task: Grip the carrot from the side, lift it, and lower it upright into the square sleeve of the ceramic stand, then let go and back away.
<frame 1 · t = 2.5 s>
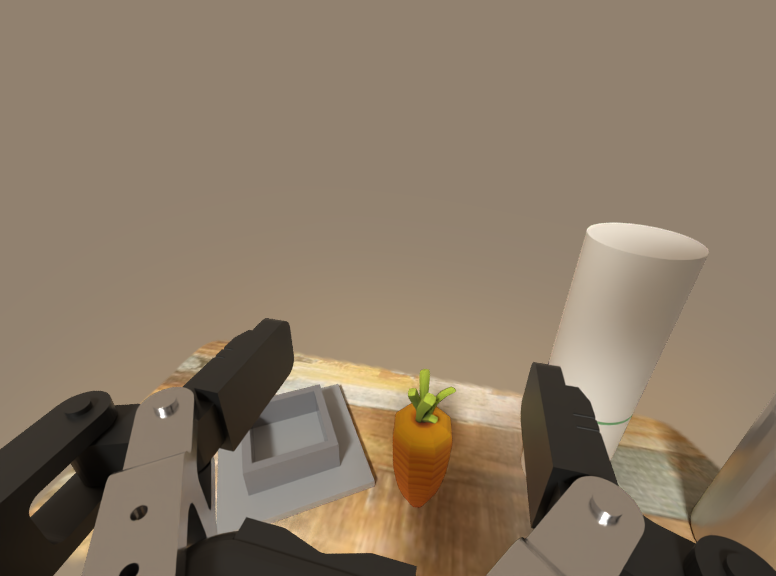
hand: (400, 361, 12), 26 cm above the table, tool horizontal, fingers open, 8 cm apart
sleeve stand: (290, 449, 39), on the table
cylindrical container: (557, 471, 37), on the table
carrot: (415, 505, 34), on the table
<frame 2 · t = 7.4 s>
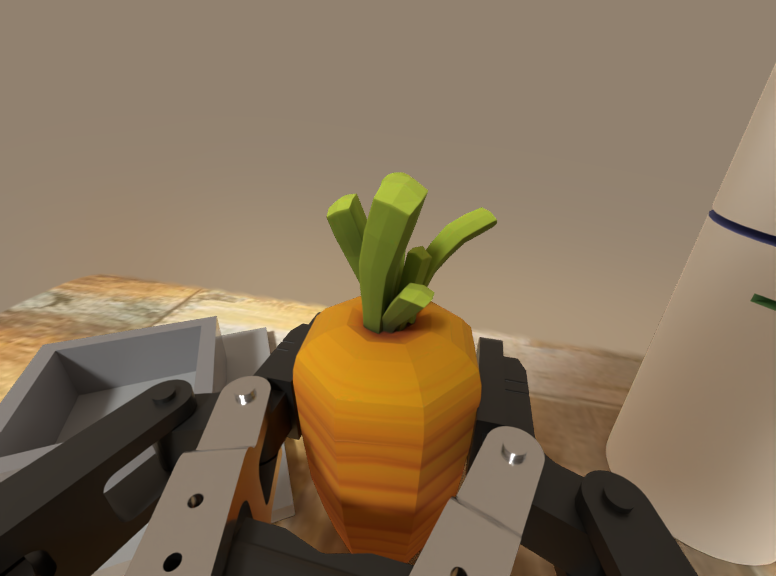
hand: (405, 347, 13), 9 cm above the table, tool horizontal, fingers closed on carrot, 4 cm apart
sleeve stand: (141, 435, 19), on the table
cylindrical container: (687, 483, 18), on the table
carrot: (383, 563, 14), on the table, touching gripper
when the fingers open (10 cm above the table, at t = 13.1 s): carrot stays where it is, resting on sleeve stand.
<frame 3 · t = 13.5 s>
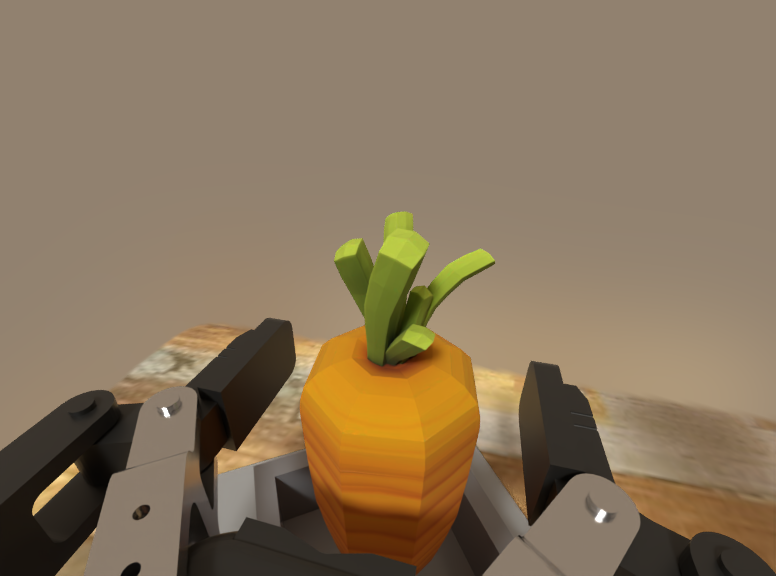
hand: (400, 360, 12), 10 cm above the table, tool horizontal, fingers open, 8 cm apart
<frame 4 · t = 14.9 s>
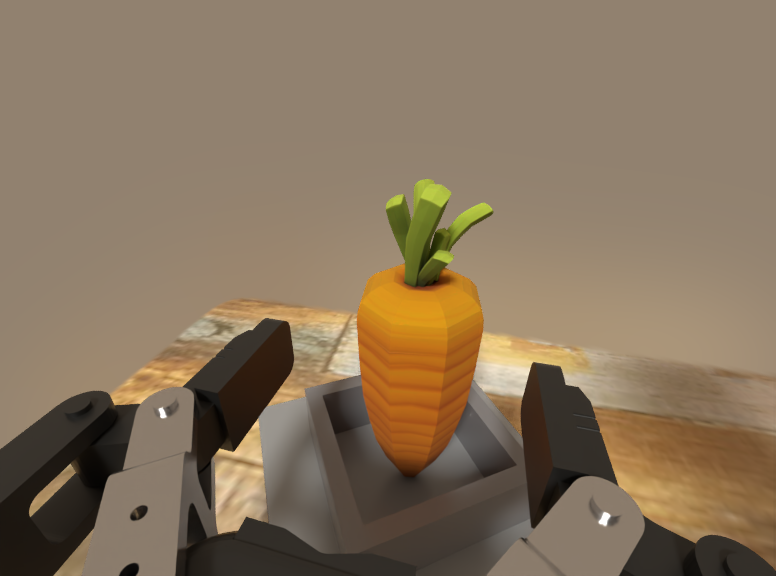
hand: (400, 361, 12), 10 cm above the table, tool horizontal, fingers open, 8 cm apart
sleeve stand: (406, 479, 19), on the table
carrot: (409, 474, 19), point 1 cm above the table, touching sleeve stand
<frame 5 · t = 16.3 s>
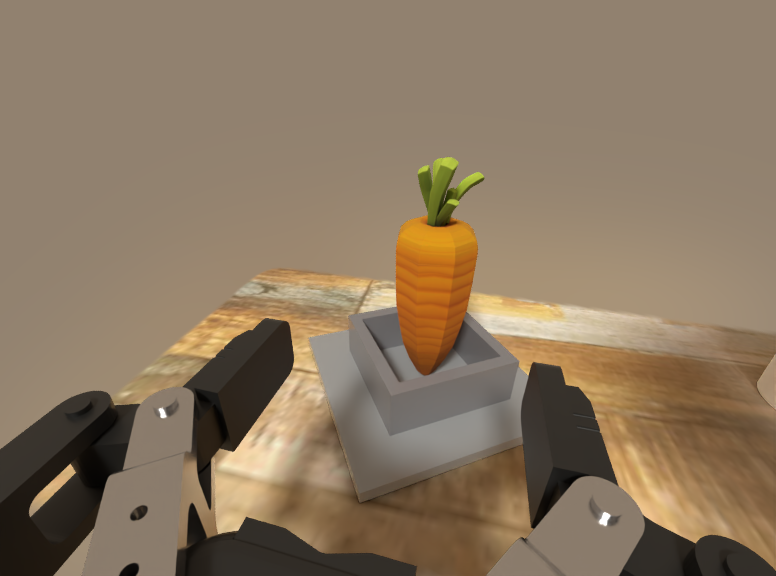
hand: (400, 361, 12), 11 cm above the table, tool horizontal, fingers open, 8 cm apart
sleeve stand: (422, 381, 27), on the table
carrot: (424, 376, 26), point 1 cm above the table, touching sleeve stand
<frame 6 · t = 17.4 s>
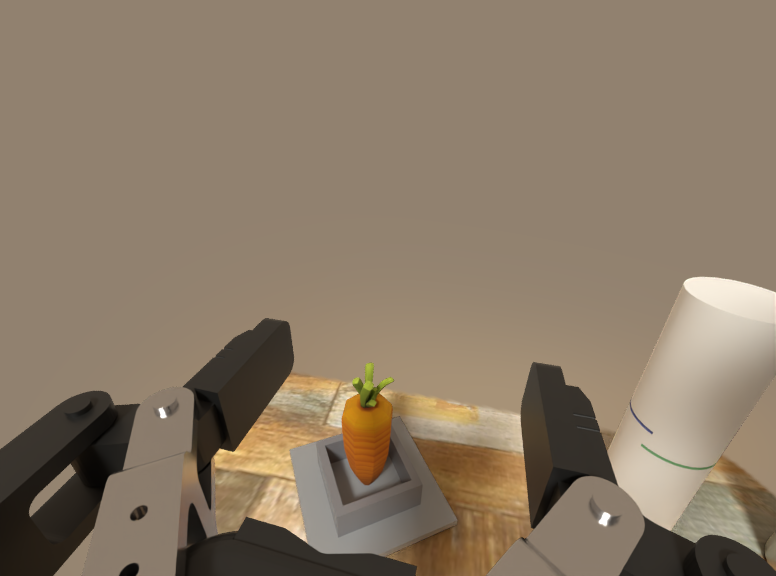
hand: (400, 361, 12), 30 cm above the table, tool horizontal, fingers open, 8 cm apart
sleeve stand: (366, 486, 39), on the table
cylindrical container: (628, 506, 38), on the table
carrot: (367, 484, 39), point 1 cm above the table, touching sleeve stand
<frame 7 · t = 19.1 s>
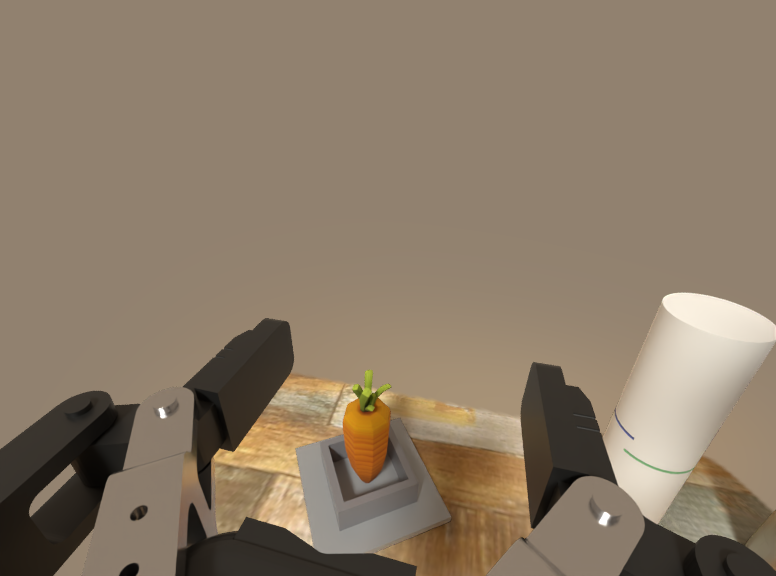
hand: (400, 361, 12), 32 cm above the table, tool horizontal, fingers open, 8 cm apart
sleeve stand: (366, 484, 42), on the table
cylindrical container: (615, 507, 40), on the table
carrot: (367, 482, 41), point 1 cm above the table, touching sleeve stand
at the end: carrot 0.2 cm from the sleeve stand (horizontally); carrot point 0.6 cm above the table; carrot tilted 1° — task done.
